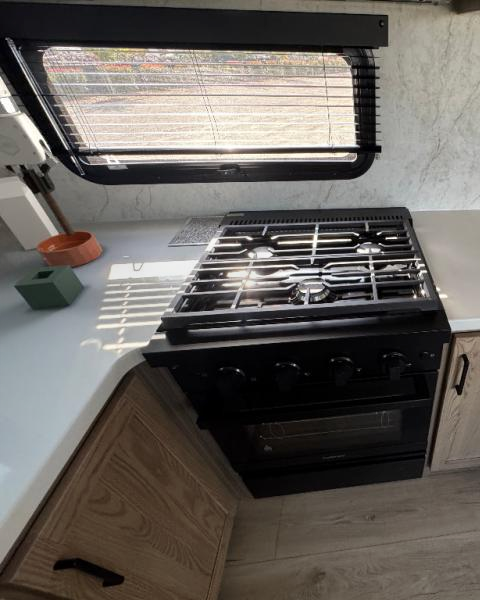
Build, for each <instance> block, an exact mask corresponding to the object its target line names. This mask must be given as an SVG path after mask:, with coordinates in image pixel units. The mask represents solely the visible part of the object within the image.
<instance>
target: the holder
mask: <svg viewBox="0 0 480 600" xmlns="http://www.w3.org/2000/svg"><path fill="white" fill-rule="evenodd" d="M13 287H14V288H15V290H16V291H17V292H18V294H20V296H21V297H22V299H23V300H24V301H25V302H26V303H27V304H28V306H29V307H30V308H31V309H32V311H34V310H35V311H36V310H45V309H54V308H62V307H63V308H64V307H70V306H71V305H72V304H73V303H74V302H75V300H76V299H77V298H78V297H79V296H80V294H81V293H82V292H83V291H84V289H85V286H84V284H83V283H82V282H81V281H80V279H79V277H78V276H77V274H76V273H75V271H74V270H73V267H70V265H63V266H52V267H49V266H43V267H33V268H31V269H30V270H29V271H28V272H27V273H26V274H25V275H24V276H23V277H22V278H20V280H18V281H17V282H16V283H15V284H14V285H13Z"/></svg>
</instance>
